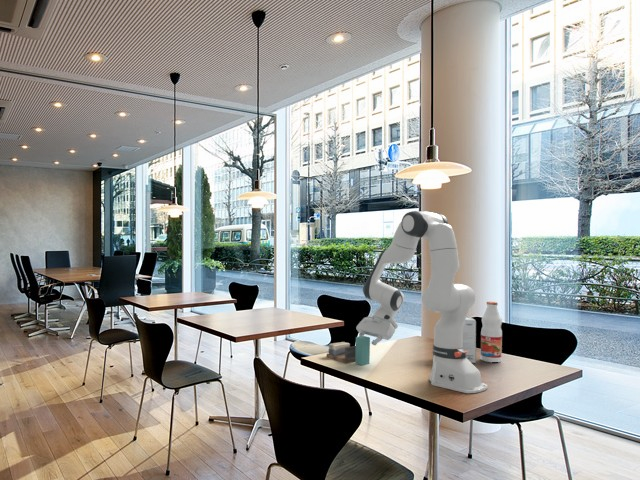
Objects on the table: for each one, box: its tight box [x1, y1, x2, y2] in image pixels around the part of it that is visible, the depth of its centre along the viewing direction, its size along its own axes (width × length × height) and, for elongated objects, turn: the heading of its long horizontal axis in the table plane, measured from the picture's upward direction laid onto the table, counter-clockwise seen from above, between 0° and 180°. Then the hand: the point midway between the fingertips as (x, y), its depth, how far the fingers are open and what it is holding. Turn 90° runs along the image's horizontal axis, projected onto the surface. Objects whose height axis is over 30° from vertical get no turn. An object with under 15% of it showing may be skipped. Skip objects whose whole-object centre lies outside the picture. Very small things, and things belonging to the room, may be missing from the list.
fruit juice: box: [480, 300, 503, 363], centre depth 220 cm, size 9×9×28 cm
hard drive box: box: [463, 317, 477, 364], centre depth 218 cm, size 16×8×20 cm, turn 84°
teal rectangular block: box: [354, 335, 371, 366], centre depth 209 cm, size 4×5×12 cm
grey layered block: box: [326, 341, 356, 364], centre depth 218 cm, size 14×12×6 cm
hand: (366, 342), depth 210 cm, fingers open, 8 cm apart
